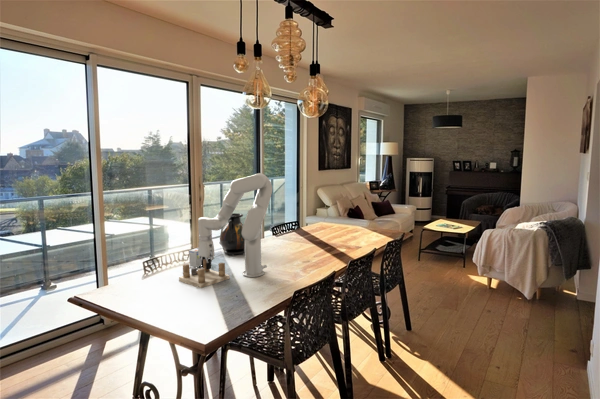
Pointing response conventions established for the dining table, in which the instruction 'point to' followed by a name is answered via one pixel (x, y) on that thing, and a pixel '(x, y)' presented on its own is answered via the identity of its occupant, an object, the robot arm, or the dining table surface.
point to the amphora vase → (233, 236)
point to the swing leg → (194, 270)
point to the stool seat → (204, 276)
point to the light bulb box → (194, 258)
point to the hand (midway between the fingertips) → (206, 267)
